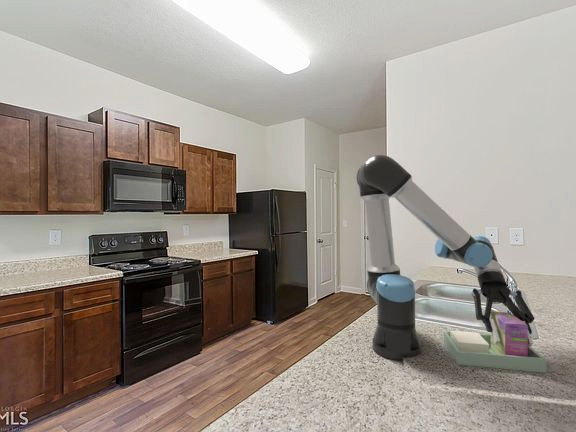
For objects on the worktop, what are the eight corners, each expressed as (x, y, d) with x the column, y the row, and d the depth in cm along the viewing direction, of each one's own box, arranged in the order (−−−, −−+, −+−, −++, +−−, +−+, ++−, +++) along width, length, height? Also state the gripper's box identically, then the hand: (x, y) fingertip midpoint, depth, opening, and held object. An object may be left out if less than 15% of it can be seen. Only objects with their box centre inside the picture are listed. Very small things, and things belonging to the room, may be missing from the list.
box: (528, 366, 84) (528, 324, 84) (505, 364, 85) (504, 322, 85) (511, 350, 94) (510, 312, 94) (490, 348, 95) (489, 311, 95)
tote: (457, 367, 86) (457, 351, 86) (443, 344, 101) (443, 331, 101) (546, 376, 81) (546, 359, 81) (517, 350, 96) (517, 336, 96)
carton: (458, 359, 89) (458, 342, 89) (450, 346, 98) (450, 330, 98) (489, 361, 87) (489, 344, 87) (478, 348, 96) (477, 332, 96)
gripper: (520, 283, 102) (550, 352, 86) (454, 281, 107) (470, 346, 91) (529, 270, 97) (561, 341, 81) (458, 269, 102) (476, 335, 86)
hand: (513, 343), depth 86 cm, fingers open, 7 cm apart
